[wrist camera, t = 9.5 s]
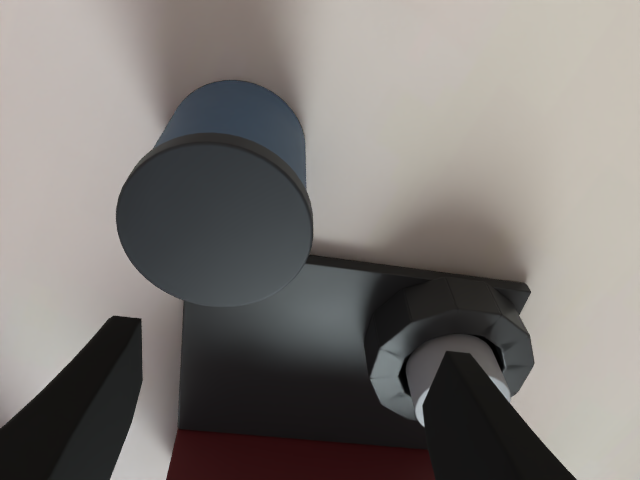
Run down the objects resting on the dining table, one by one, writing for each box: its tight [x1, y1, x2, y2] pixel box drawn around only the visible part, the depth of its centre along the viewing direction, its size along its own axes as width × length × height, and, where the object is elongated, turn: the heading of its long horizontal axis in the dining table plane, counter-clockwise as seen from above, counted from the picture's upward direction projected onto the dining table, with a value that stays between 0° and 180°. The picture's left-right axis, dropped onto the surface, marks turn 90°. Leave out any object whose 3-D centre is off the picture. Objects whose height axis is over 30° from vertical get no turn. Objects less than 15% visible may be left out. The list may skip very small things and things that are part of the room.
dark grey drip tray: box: [178, 255, 534, 450], centre depth 22 cm, size 11×14×3 cm
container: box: [116, 80, 313, 307], centre depth 15 cm, size 5×5×6 cm
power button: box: [406, 333, 511, 426], centre depth 20 cm, size 4×4×2 cm
